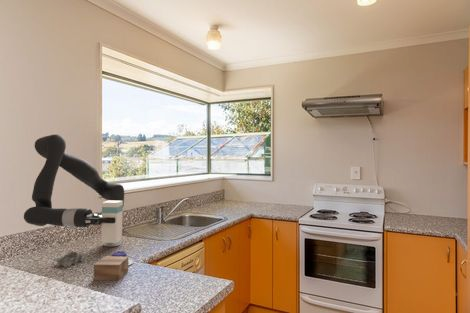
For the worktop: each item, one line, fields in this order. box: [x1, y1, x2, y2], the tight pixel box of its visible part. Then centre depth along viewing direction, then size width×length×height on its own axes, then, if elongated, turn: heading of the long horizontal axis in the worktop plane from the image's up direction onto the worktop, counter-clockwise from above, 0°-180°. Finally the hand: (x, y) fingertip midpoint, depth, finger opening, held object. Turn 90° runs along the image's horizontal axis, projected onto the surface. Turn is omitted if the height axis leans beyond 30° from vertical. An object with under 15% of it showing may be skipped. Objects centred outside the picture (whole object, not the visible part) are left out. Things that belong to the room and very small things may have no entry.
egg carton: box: [55, 250, 85, 268], centre depth 140 cm, size 11×8×4 cm
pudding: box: [111, 250, 134, 266], centre depth 140 cm, size 12×12×5 cm
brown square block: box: [93, 255, 129, 281], centre depth 127 cm, size 10×10×6 cm
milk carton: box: [100, 200, 124, 244], centre depth 127 cm, size 6×6×16 cm
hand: (118, 218), depth 127 cm, fingers closed on milk carton, 6 cm apart
